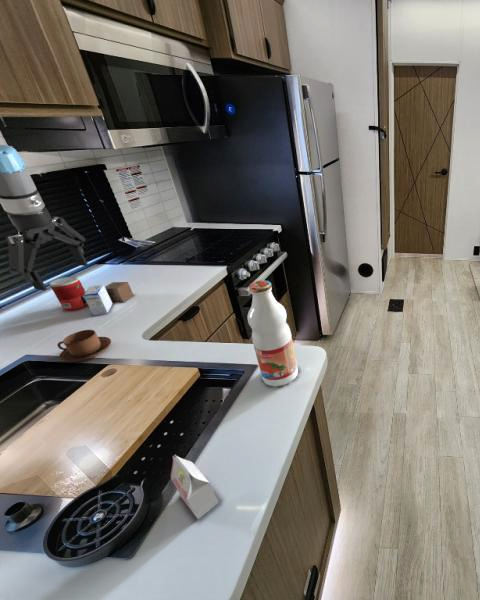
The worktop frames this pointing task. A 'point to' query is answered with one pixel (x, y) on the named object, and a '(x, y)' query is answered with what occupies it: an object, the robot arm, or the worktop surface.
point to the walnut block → (119, 291)
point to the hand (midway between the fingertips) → (63, 276)
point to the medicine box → (98, 300)
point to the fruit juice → (271, 336)
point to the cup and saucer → (83, 346)
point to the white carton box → (193, 487)
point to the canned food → (69, 293)
